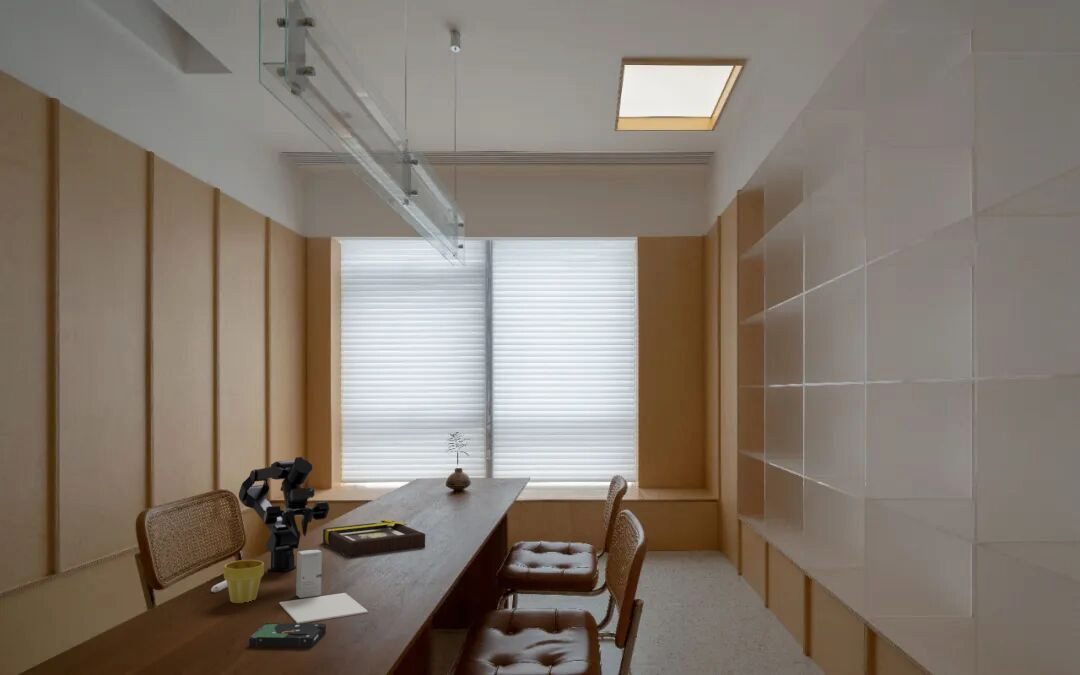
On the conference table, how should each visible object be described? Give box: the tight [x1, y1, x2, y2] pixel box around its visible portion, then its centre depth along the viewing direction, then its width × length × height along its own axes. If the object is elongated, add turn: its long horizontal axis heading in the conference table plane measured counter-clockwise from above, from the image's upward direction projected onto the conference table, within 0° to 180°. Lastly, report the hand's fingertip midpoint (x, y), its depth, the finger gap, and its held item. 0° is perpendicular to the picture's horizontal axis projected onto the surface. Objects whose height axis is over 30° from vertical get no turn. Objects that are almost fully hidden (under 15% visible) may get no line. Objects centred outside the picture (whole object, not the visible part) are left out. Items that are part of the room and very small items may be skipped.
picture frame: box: [322, 519, 426, 558], centre depth 284 cm, size 28×7×30 cm
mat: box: [279, 592, 369, 624], centre depth 205 cm, size 20×18×1 cm
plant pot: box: [223, 559, 265, 604], centre depth 213 cm, size 10×10×10 cm
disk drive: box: [248, 622, 327, 648], centre depth 181 cm, size 10×3×15 cm
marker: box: [210, 579, 228, 593], centre depth 228 cm, size 18×2×2 cm, turn 172°
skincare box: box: [295, 549, 323, 599], centre depth 218 cm, size 6×4×12 cm
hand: (301, 535), depth 232 cm, fingers closed
